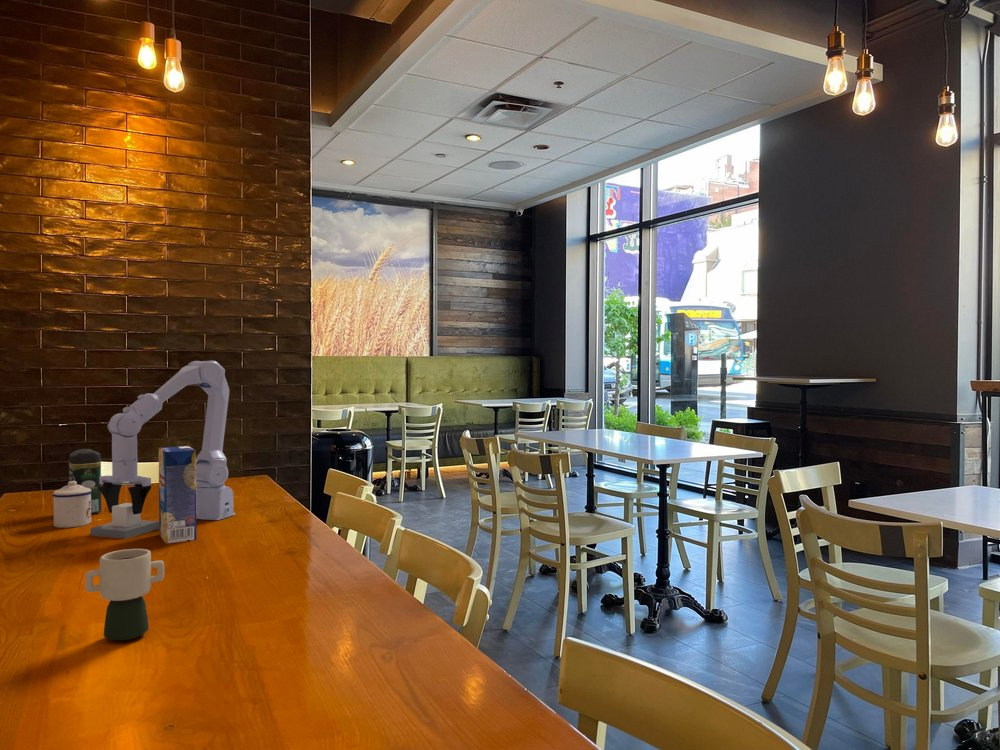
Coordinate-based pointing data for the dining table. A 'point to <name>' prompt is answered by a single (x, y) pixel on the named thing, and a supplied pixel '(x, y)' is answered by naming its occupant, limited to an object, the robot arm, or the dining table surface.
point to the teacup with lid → (72, 506)
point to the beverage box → (177, 494)
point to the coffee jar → (87, 474)
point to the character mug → (125, 590)
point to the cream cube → (124, 515)
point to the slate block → (124, 529)
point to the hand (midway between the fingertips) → (125, 512)
